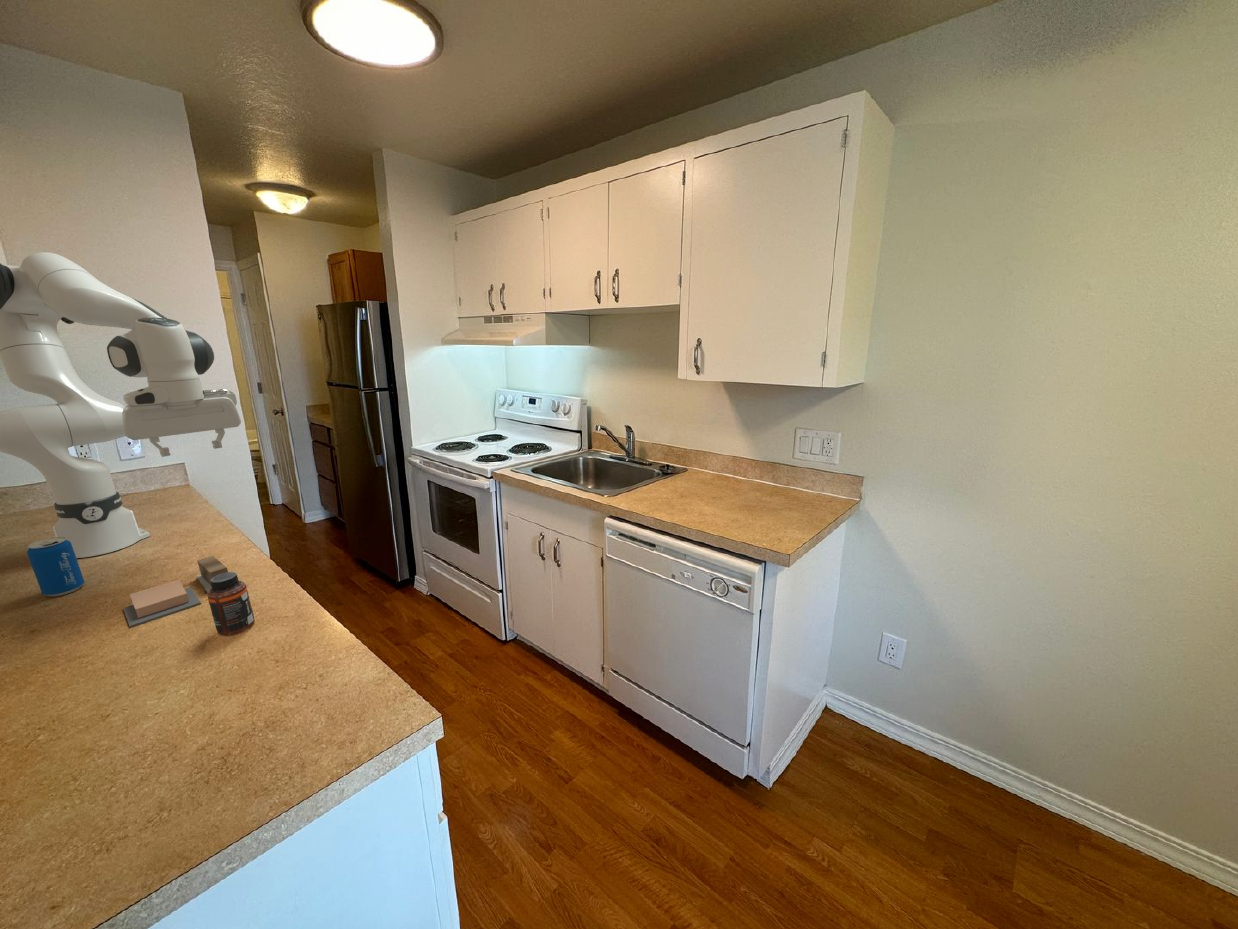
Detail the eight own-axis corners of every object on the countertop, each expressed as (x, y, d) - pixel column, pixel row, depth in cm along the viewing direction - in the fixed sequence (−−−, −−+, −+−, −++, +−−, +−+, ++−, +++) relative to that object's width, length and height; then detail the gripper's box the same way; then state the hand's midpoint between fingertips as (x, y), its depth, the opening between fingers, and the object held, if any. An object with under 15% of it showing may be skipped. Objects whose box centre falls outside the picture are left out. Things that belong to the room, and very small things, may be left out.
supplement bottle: (262, 622, 97) (250, 571, 94) (231, 640, 92) (217, 587, 89) (242, 617, 99) (229, 567, 96) (210, 634, 94) (195, 581, 90)
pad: (197, 577, 115) (196, 575, 115) (223, 570, 118) (222, 567, 118) (209, 595, 107) (208, 592, 107) (236, 586, 111) (236, 583, 111)
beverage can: (57, 599, 106) (38, 549, 103) (35, 596, 107) (16, 547, 104) (93, 584, 112) (77, 537, 109) (72, 582, 113) (55, 535, 110)
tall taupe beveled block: (201, 575, 114) (197, 560, 113) (217, 570, 117) (213, 555, 116) (214, 589, 109) (210, 572, 108) (230, 583, 111) (226, 567, 110)
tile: (129, 594, 103) (135, 609, 97) (178, 579, 109) (186, 593, 103) (132, 603, 104) (138, 618, 98) (181, 588, 109) (189, 602, 104)
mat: (123, 609, 102) (122, 608, 102) (191, 588, 110) (190, 587, 110) (130, 627, 96) (129, 626, 96) (201, 604, 104) (200, 602, 104)
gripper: (230, 387, 119) (242, 441, 123) (113, 396, 104) (131, 458, 108) (237, 389, 115) (250, 445, 119) (116, 398, 100) (135, 463, 104)
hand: (192, 451), depth 113 cm, fingers open, 8 cm apart
